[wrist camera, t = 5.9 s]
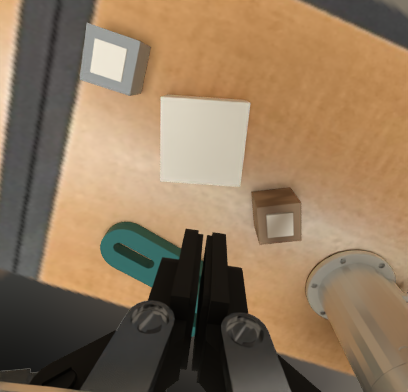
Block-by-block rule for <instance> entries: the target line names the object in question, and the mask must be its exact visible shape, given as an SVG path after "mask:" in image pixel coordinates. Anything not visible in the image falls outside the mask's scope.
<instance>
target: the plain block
mask: <svg viewBox="0 0 408 392" xmlns="http://www.w3.org/2000/svg"><path fill="white" fill-rule="evenodd" d="M249 111H250V102H248V101H246V100H241V99H227V98H212V97H198V96H184V95H170V94H167V95H164V96H161V123H160V181H161V182H176V183H190V184H204V185H219V186H233V187H240V184H241V176H242V168H243V160H244V152H245V143H246V135H247V127H248V119H249Z"/></svg>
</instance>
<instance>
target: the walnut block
mask: <svg viewBox="0 0 408 392" xmlns="http://www.w3.org/2000/svg"><path fill="white" fill-rule="evenodd" d="M251 193H252V206H253V219H254V227H255V230H256V234H257V237H258V241H259V244H260V245H262V244H272V243H282V242H292V241H301V202H300V200H299V199H298V198H297V196H296V195H295V194H294V192H293V191H292V189H291V188H281V189H272V190H263V191H255V192H251Z"/></svg>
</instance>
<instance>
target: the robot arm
mask: <svg viewBox="0 0 408 392" xmlns="http://www.w3.org/2000/svg"><path fill="white" fill-rule="evenodd" d="M198 231H199V230H191V229H186V230H185V234H184V239H183V243H182V248H181V252H180V257H179V259H172V258H165V257H162V259H161V262H160V265H159V268H158V271H157V274H156V277H155V280H154V283H153V286H152V289H151V292H150V295H149V299H148V301H143V302H140V303H138V304H136V305H134V306H133V307H132V308H131V309H130V310H129V311H128V312H127V314H126V315H125V317H124V319H123V320H122V322H121V324H120V325H119V327H118V329H117V330H115V331H113V332H111V333H109V334H107V335H105V336H103V337H102V338H100V339H98V340H96V341H94V342H92V343H90V344H88V345H86V346H84V347H82V348H80V349H78V350H76V351H74V352H72V353H70V354H68V355H66V356H64V357H62V358H60V359H59V360H57V361H54V362H52V363H51V364H49V365H47V366H46V367H44V368H43V369H41V370H40V371H39V372H36V373H31V370H30V369H20V370H8V371H0V392H166V389H167V388H168V387H170V386H171V385H172V384H174V383H175V382H176V381H178V380H179V373H180V369H185V370H186V369H187V363H188V356H189V349H190V342H191V336H192V329H193V323H194V316H195V309H196V302H197V294H198V284H199V273H200V263H201V253H202V242H203V234H198ZM305 290H306V297H307V299H308V302H309V304H310V306H311V308H312V309H313V310H314V311H315V312H316V313H317V314H318V315H320V316H321V317H323V318H325V319H328V320H329V321H330V324H331V326H332V328H333V330H334V332H335V334H336V336H337V338H338V340H339V342H340V344H341V346H342V348H343V350H344V352H345V355H346V357H347V359H348V361H349V363H350V365H351V367H352V369H353V371H354V373H355V375H356V377H357V379H358V381H359V383H360V385H361V388H362V390H363V392H408V292H407V293H404V292H402V290H401V289H400V288H399V287H398V286H397V285H396V277H395V273H394V271H393V269H392V268H391V266H390V265H389V264H388V263H387V262H386V261H385V260H384V259H383V258H382V257H380V256H378V255H376V254H374V253H371V252H368V251H361V250H352V251H345V252H341V253H338V254H335V255H332V256H331V257H329V258H327V259H325V260H324V261H322V262H321V263H320V264H318V265H317V266H316V267H315V269H314V270H313V271H312V272H311V274H310V275H309V277H308V280H307V282H306V289H305ZM192 371H198V372H197V383H200V384H201V386H202V387H203V388H204V389H205V391H206V392H321V391H320V390H319V389H317V388H316V387H315V386H314V385H312V383H311V382H309V381H308V380H307V379H306V378H305V377H304V376H302V375H301V374H300V373H299V372H298V371H297V370H295V369H294V368H293V367H292V366H291V365H290V364H288V363H287V362H286V361H285V360H284V359H283V358H281V357H280V356H279V355H278V354H277V353H276V350H275V348H274V345H273V342H272V340H271V337H270V334H269V332H268V330H267V328H266V326H265V325H264V324H263V323H262V322H261V321H260V320H259V319H258V318H256V317H255V316H253V315H250V314H248V309H247V301H246V294H245V286H244V279H243V271H242V268H240V267H232V266H228V264H227V245H226V234H221V233H214V232H213V234H212V236H210V235H207V240H206V247H205V253H204V260H203V267H202V273H201V280H200V287H199V295H198V305H197V316H196V327H195V339H194V349H193V359H192Z"/></svg>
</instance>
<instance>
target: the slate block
mask: <svg viewBox="0 0 408 392" xmlns="http://www.w3.org/2000/svg"><path fill="white" fill-rule="evenodd" d="M150 49H151V47H150V46H148V45H146V44H144V43H143V42H141V41H138V40H135V39H132V38H129V37H126V36H124V35H121V34H118V33H115V32H112V31H109V30H106V29H103V28H100V27H97V26H95V25H92V24H89V23H87V26H86V34H85V42H84V49H83V57H82V65H81V73H80V80H83V81H86V82H89V83H92V84H95V85H98V86H101V87H104V88H107V89H110V90H113V91H116V92H120V93H123V94H126V95H129V96H131V95H136V94H141V92H142V87H143V82H144V77H145V73H146V68H147V63H148V59H149V54H150Z"/></svg>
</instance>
